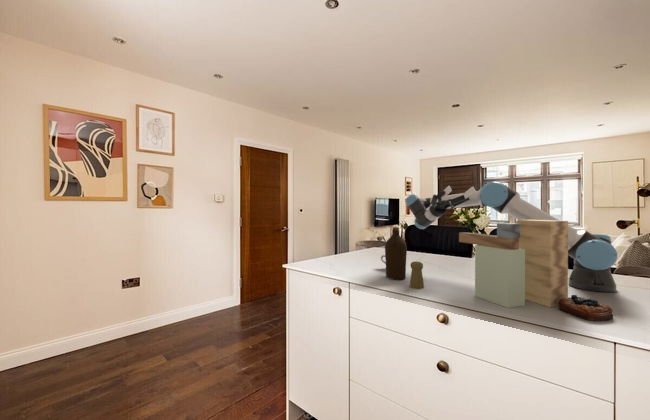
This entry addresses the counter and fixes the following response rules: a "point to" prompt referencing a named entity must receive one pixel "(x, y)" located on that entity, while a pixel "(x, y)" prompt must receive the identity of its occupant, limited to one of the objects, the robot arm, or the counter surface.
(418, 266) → the cork
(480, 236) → the beam
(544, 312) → the counter surface
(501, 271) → the sage green upright block
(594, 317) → the pastry
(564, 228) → the oak stand
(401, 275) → the olive oil
